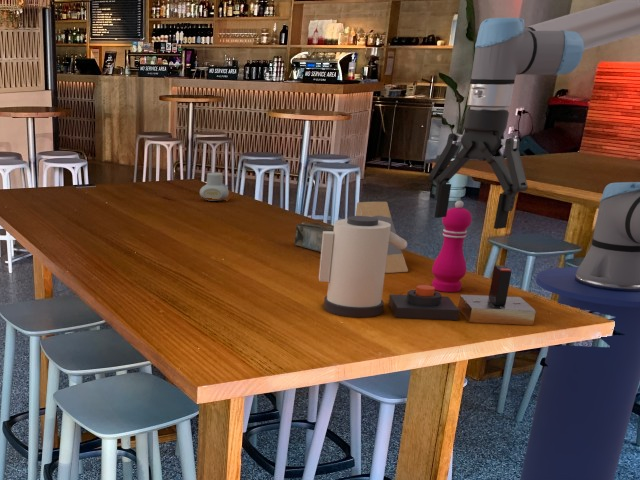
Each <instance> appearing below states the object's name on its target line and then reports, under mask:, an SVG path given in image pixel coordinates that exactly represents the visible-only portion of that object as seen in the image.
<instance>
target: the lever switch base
mask: <svg viewBox="0 0 640 480" xmlns="http://www.w3.org/2000/svg"><path fill="white" fill-rule="evenodd" d="M457 308H458V309H459V313H461V314H462V315H463V316H464V318H465V319H466V320H467V321H468V323H471V324H472V323H473V324H474V323H475V324H498V325H517V326H518V325H520V326H521V325H522V326H534V322H535V317H536V311H537V310H536V309H535V308H534V307H533V306H531V304H529V303H528V302H527V301H525V300H524V299H523V298H522V297H521V296H507V299H506V304H505V306H502V305H494V304H493V303H492V302H491V300H490V299H489V295H483V294H482V295H481V294H480V295H479V294H478V295H477V294H459V299H458V304H457Z"/></svg>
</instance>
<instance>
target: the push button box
mask: <svg viewBox="0 0 640 480" xmlns="http://www.w3.org/2000/svg"><path fill="white" fill-rule="evenodd" d="M415 293H416V289H410V290H408V291H407V293H406V294H392V293H391V294H389V296H388V297H389V299H388V306H389V307H390V310H391V311H392V314H393V315H394V317H395V318H396V319H413V320H414V319H417V320H437V321H458V320H459V315H460V310H459V309H458V306H456V304H455V303H454V302H453V300H451V298H450V297H449V296H443V295H442V293H441V292H440V291H437V290H435V291H434V296H420V295H416V294H415Z"/></svg>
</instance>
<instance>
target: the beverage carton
mask: <svg viewBox="0 0 640 480" xmlns="http://www.w3.org/2000/svg"><path fill="white" fill-rule="evenodd" d="M323 231H334V226H331V225H327V224H323V223H320V222H319V223H318V222H311V223H308V222H304V221H303V222H302V223H299V224H296V225H295V233H294V245H295V246H299V247H301V248H305V249H309V250H311V251H315V252H318V253H321V248H322V237H323Z"/></svg>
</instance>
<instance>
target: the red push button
mask: <svg viewBox="0 0 640 480" xmlns="http://www.w3.org/2000/svg"><path fill="white" fill-rule="evenodd" d="M415 290H416V293H415V294H416V295H420V296H434V291H436V290H435V287H433V286H432V285H429V284H417V285H416V287H415Z"/></svg>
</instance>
